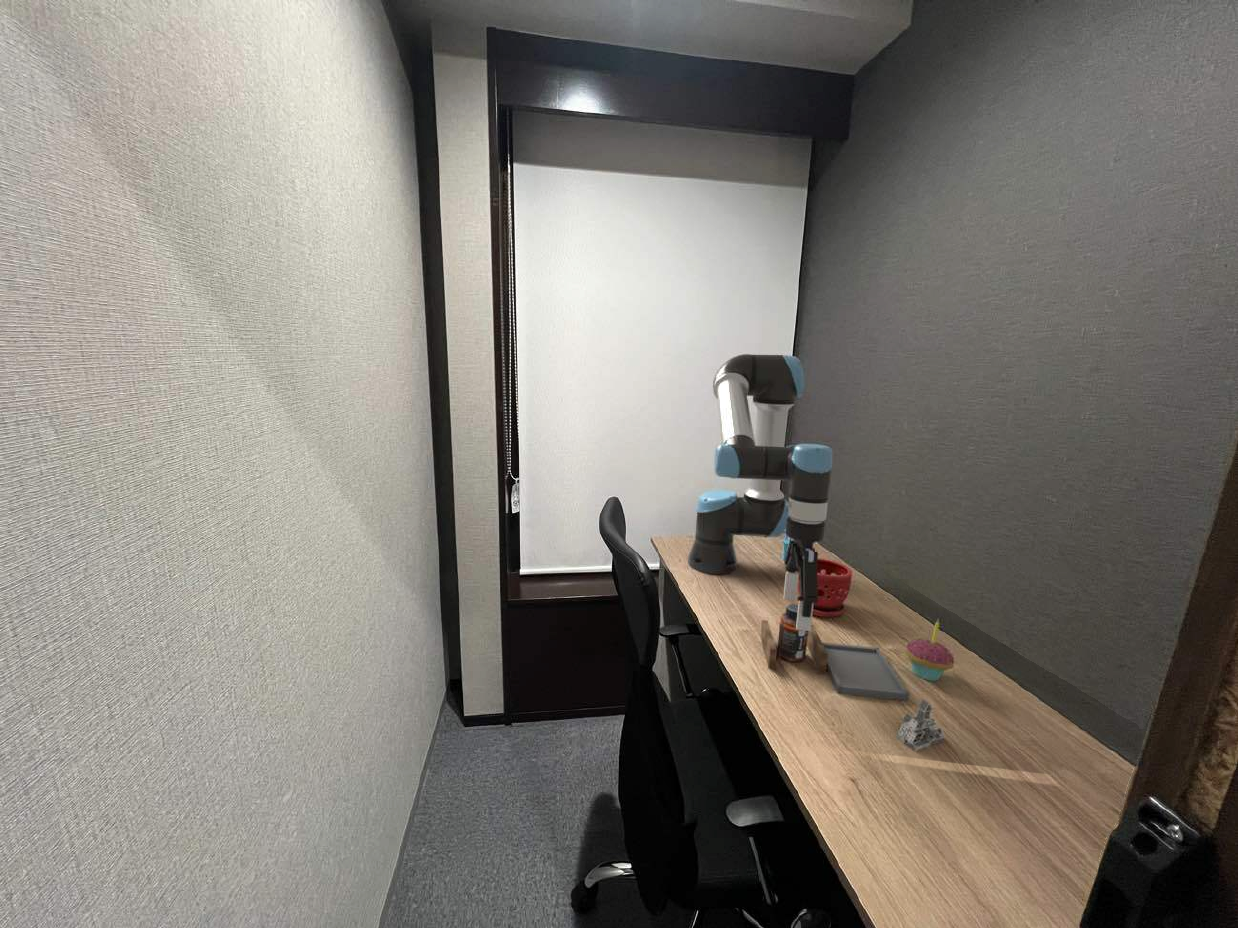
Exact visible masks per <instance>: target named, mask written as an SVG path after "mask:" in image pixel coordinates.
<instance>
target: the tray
mask: <svg viewBox="0 0 1238 928" xmlns="http://www.w3.org/2000/svg"><path fill="white" fill-rule="evenodd" d="M821 642H822V641H821ZM822 644H823V646H824V648H825V650H826V652H827V654H828V656H827V664H826V670H827V673H828V675H829V677H830V680H831V681H832V683H833V686H834V688H835V691H836V693H837V694H842V695H850V696H859V697H861V696H862V697H868V698H878V699H886V700H887V699H888V700H895V701H896V700H897V701H905V702H909V700H910V693H909V691H908V689H907V688H906V687H905V685H904V683H903V682H902V681H901V679H900V678H899V676H898V675H897V673H896V672H895V670H894V668H893V667H892V666H891V664H890V663H889V661H888V660H887V659H886V657H885V656H884V654H883V652H882V651H881V650H880V648H879V647H872V646H862V645H853V644H852V645H850V644H841V643H832V642H822Z"/></svg>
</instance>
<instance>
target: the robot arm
mask: <svg viewBox="0 0 1238 928" xmlns="http://www.w3.org/2000/svg"><path fill="white" fill-rule="evenodd" d="M804 375H805V374H804V369H803V364H802V361H801V360H800V359H799V358H798V357H797V356H794V355H785V354H750V353H748V354H747V353H744V354H739V355H737V356H733V357H732V358H729V359H728V360H727V361H725V362H724V363H723V364H722V365H721V366H719V369H717V371H716V373H715V375H714V378H713V383H712V389H713V394H714V397H715V398H716V399H717V404H718V413H719V423H720V424H719V425H720V434H721V435H720V436H721V444H718V445H716V448H715V451H714V474H715V475H716V476H717V477H719V478H720V477H721V478H722V477H723V478H729V479H734V480H735V479H746V480H747V479H748V480H749V479H750V484H749V486H748V488H746V489H745V490H744V492H743V496H738V495H737V492H735V491H733V490H727V489H723V490H722V489H721V490H719V489H717V490H716V489H715V490H709V491H705V492H704V493H702V494H700V496H699V497H698V499H697V506H696V509H695V510H696V520H695V521H696V522H695V523H696V524H695V535H694V541H693V543H692V547H691V549H690V551H689V553H688V556H687V557H688V558H687V564H688V566H689V568H691V569H693V570H695V571H697V572H700V573H704V574H709V575H727V574H731V573H734V572H736V570H737V568H738V558H737V557H738V556H737V555H736V550H735V547H734V546H735V545H734V536H747V537H760V538H765V539H766V538H778V537H780V536H782V535H783V533H785V532H784V531H785V529H786V535H787V536H788V538H790V542H789V544H788V548H787V554H786V558H785V561H783V563H784V565H785V571H786V572H785V579H784V588H783V589H784V590H783V597H782V598H783V600H784V601H792V602H793V601H794V602H795V601H797V600H798V601H799V604H798V603H797V604H798V613H797V623H796V629H797V630H805V631H811V625H812V621H813V615H814V614H813V605H814V603H818V581H817V560H818V559H819V558H818V557H819V552H818V551H816V549H815V548H814V543H817V542H821V541H822V540H824V538H825V530H826V529H825V527H826V522H824V521H825V520H826V519H827V513H828V504H829V500H828V499H829V491H830V485H831V475H832V469H833V467H834V464H833V450H832V448H831V447H829V446H827V445H823V444H818V443H800V444H797V445H793V444H792V445H788V446H785V445H786V444H785V443H786V433H787V427H788V425H787V424H788V417H789V410H790V409H791V408H792V407H794V406H795V402H796V399H799V398H801V397H802V395H803V394H804V393H803V392H804V388H805V387H804V386H805V376H804ZM748 397H752V403H753V405H754V406H755V407H756V421H755V430H753V429H754V428H753V424H752V418H751V413H750V406H749V400H748ZM781 481H785V482H786V481H789V482H790V485H789V496H788V497H789V498H788V500H789V501H788V500H787V499H785V494H784V493H783V492H782V491H781V489H780V488H781ZM797 572H799V573H797ZM799 577H800V592H801V597H799V596H798V597H797V595H798V579H799ZM798 601H797V602H798Z"/></svg>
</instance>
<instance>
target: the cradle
mask: <svg viewBox="0 0 1238 928" xmlns="http://www.w3.org/2000/svg"><path fill="white" fill-rule="evenodd" d="M760 629H761V630H760V640H761V646H762V648H763V649H762V650H763V652H764V656H765V660H766V664H767V667H768V669H773V670H775V668H776V659H777V647H776V646H777V645H776V643H775V640H774V637H773V634H772V630H771V628H770V624H769V621H768V620H761V628H760ZM807 648H808V651H809V653H810V655H811V658H812V660H813V662H814V665H815V667H816V669H817V672H818V674H820V675H826V670H827V669H826V664H827V656H828V654H827V652H826V650H825V648H824V646H823V644H822V640H821V638H820V636H819V634H818V631H817V630H816V627H815V626H814V624H811V631H808V639H807Z"/></svg>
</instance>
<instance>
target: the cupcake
mask: <svg viewBox="0 0 1238 928" xmlns="http://www.w3.org/2000/svg"><path fill="white" fill-rule="evenodd" d="M939 620H940V619H939V618H937V621H936V622H935V624H934V628H933V632H932V633H933V634H932V637H931V639H925V638H916V639H915V640H912V641H910V642H908V644H907V645H906V650H905V654H906V656H907V658H908V660H910V662H911V666H912V672H913V673H914V674H915V675H916V676H918V678H921V679H923V680H926V681H931V682H932V681H933V682H934V681H938V680H939V679H940V678H941V676H942V675H943V673H944V672H945V671H948V670H950V669H952V668H954V663H955V658H954V655H953V653H952V652H951V650H949V649H948V648H947V647H945V645H943V644H941V643H939V642H937V635H938V633H939V632H938V631H939V627H940V622H939Z"/></svg>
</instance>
